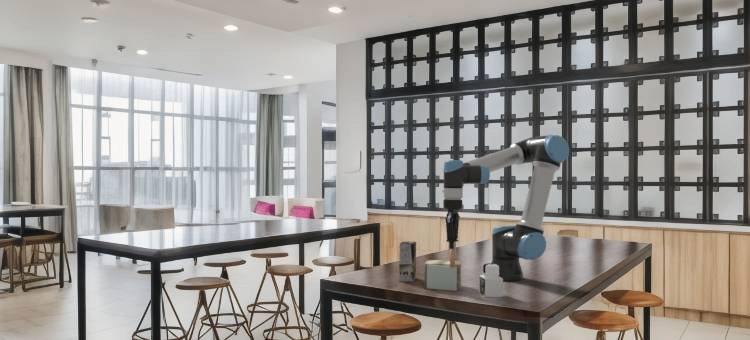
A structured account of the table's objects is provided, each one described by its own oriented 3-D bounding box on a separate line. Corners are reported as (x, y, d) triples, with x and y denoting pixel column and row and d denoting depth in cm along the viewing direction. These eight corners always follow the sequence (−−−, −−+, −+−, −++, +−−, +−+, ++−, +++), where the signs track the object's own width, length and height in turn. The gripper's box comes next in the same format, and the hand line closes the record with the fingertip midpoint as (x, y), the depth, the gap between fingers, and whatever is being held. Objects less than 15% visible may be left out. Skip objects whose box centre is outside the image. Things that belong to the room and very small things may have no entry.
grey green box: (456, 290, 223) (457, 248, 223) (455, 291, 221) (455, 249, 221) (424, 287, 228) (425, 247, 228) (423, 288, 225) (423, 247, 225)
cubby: (460, 285, 234) (460, 261, 234) (459, 289, 225) (460, 264, 225) (426, 283, 237) (427, 259, 237) (424, 288, 228) (424, 263, 228)
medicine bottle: (479, 293, 219) (479, 262, 219) (497, 293, 219) (497, 262, 219) (484, 297, 212) (484, 265, 212) (503, 297, 212) (503, 265, 212)
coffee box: (413, 282, 240) (413, 244, 240) (398, 281, 242) (398, 243, 242) (416, 278, 249) (416, 241, 249) (402, 277, 251) (402, 240, 251)
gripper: (448, 197, 232) (447, 255, 232) (439, 199, 220) (438, 259, 221) (466, 198, 229) (465, 256, 229) (458, 200, 217) (457, 261, 218)
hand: (452, 258), depth 225 cm, fingers closed
